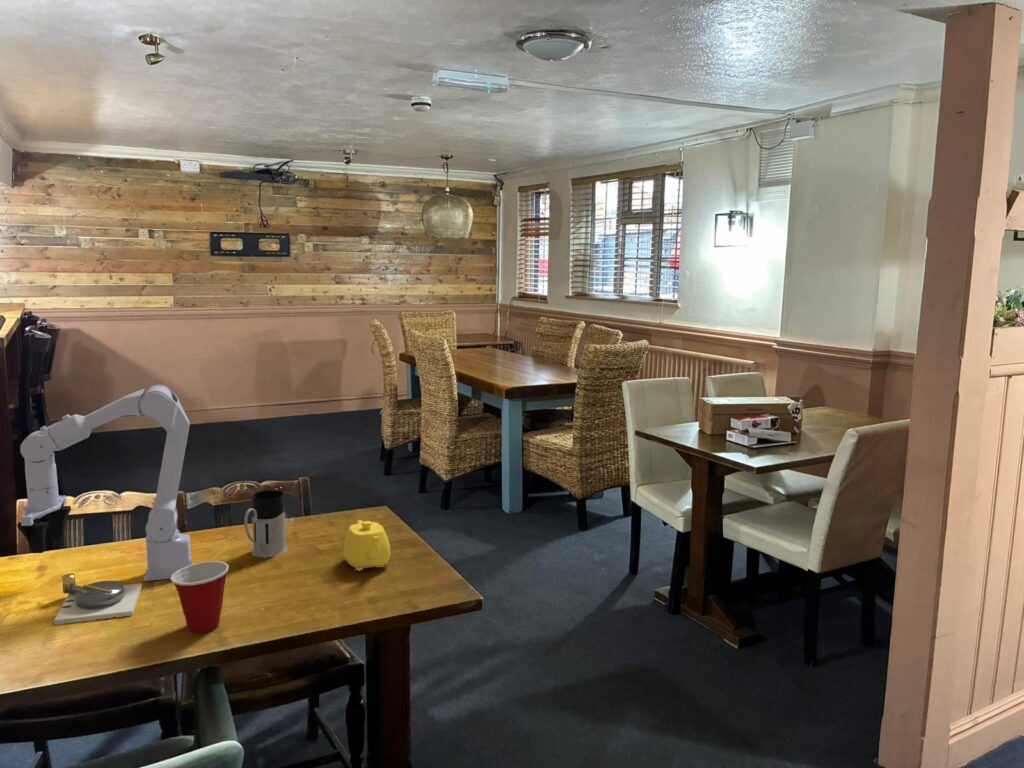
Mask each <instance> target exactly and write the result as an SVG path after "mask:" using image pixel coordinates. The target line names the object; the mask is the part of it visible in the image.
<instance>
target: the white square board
mask: <svg viewBox="0 0 1024 768" xmlns="http://www.w3.org/2000/svg"><path fill="white" fill-rule="evenodd" d="M123 585H124V597H123V598H122V599H121V600H119V601H118V602H116V603H113V604H111V605H108V606H104V607H98V608H82V607H79V606H77V605H76V601H75V595H74V594H70V593H68V595H67V596H66V598H65V600H64V602H63V604H62V606H61V608H60V609H59V610H58V612H57V615H56V617H55V618H54V620H53V623H54V626H55V625H62V624H63V625H64V623H65V624H73V623H82V622H89V621H90V620H91V621H98V620H97V619H99V620H105V619H106V618H108V619H114V618H113V617H116V618H123V617H124V616H125V617H132V616H133V615H134V611H135V609H136V605H137V603H138V600H139V597H140V594H141V591H142V588H143V584H142V583H134V584H133V583H132V584H123ZM106 620H107V619H106ZM91 621H90V622H91Z"/></svg>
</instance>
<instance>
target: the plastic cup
mask: <svg viewBox="0 0 1024 768" xmlns="http://www.w3.org/2000/svg"><path fill="white" fill-rule="evenodd" d="M229 567H230V565H229V564H228V563H226V562H224V561H219V560H215V561H213V560H210V561H203V562H197V563H192V565H189V566H186V567H184V568H181V569H179V570H177V571H176V572H175V573H173V574H172V576H171V578H170V579H169V580H170V581H171V582H172V583H173V584H174V587H175V588H176V591H177V593H178V597H179V598H178V599H179V600H180V606H181V609H182V613H183V615H184V617H185V623H186V626H187V628H188V630H189V632H191V633H193V634H205V633H208V632H211V631H213V630H215V629H217V628H218V627H219V624H220V623H221V622H220V621H221V613H222V608H223V600H224V595H225V594H224V593H225V585H226V580H227V579H226V578H227V574H228V572H229Z"/></svg>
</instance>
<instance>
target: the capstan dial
mask: <svg viewBox="0 0 1024 768" xmlns="http://www.w3.org/2000/svg"><path fill="white" fill-rule="evenodd" d="M61 583H62V592H63V594H69V593H70V594H74V595H75V601H76V605H77V606H79V607H82V608H98V607H104V606H108V605H111V604H113V603H116V602H118V601H119V600H121V599H122V598H123V597H124V585H125V584H124V583H123V582H121V581H118V580H102V581H101V580H100V581H95V582H91V583H88V584H82V586H81V585H77V584H76V574H75V573H65V574H63V575H61Z"/></svg>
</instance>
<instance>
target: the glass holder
mask: <svg viewBox="0 0 1024 768" xmlns="http://www.w3.org/2000/svg"><path fill="white" fill-rule="evenodd" d="M284 494H285V493H284V492H282V491H281V490H274V489H273V490H272V489H271V490H270V489H269V490H268V489H267V490H261V491H257V492H255V493H253V494H252V495H251V496H252V497H251V499H252V501H251V502H252V507H251V508H248V509H247V510H246V512H245V514H244V521H243V523H244V530H245V533H246V536H247V539H248V540H249V541H250V542H252V543H253V544H252V547H253V548H252V550H251V555H252V554H253V555H254V556H257V557H264V558H263V559H267V558H266V557H274V556H277V555H280V554H282V553H284V552H286V551H287V549H288V547H287V543H286V542H287V541H286V535H287V534H286V507H285V498H284V497H285V496H284ZM250 512H252V515H251V517H252V519H251V520H252V536H251V534H250V531H249V527H248V517H249V514H250ZM287 552H288V551H287ZM253 555H252V556H253ZM254 556H253V557H254ZM257 557H256V558H257ZM274 558H275V557H274Z"/></svg>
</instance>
